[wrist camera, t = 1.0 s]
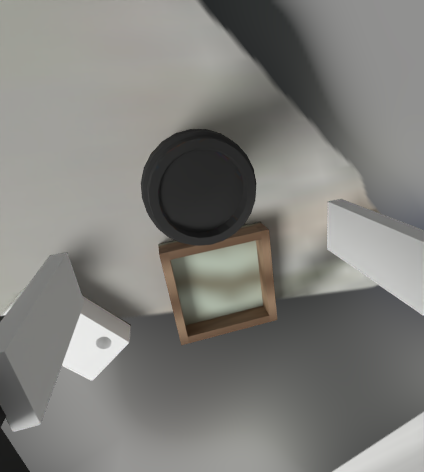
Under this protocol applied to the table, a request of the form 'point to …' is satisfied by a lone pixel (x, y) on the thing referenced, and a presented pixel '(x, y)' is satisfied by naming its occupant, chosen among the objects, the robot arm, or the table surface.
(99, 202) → the table surface
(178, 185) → the coffee cup
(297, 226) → the table surface
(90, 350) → the bracket
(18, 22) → the table surface
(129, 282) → the table surface
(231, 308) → the cup dock
